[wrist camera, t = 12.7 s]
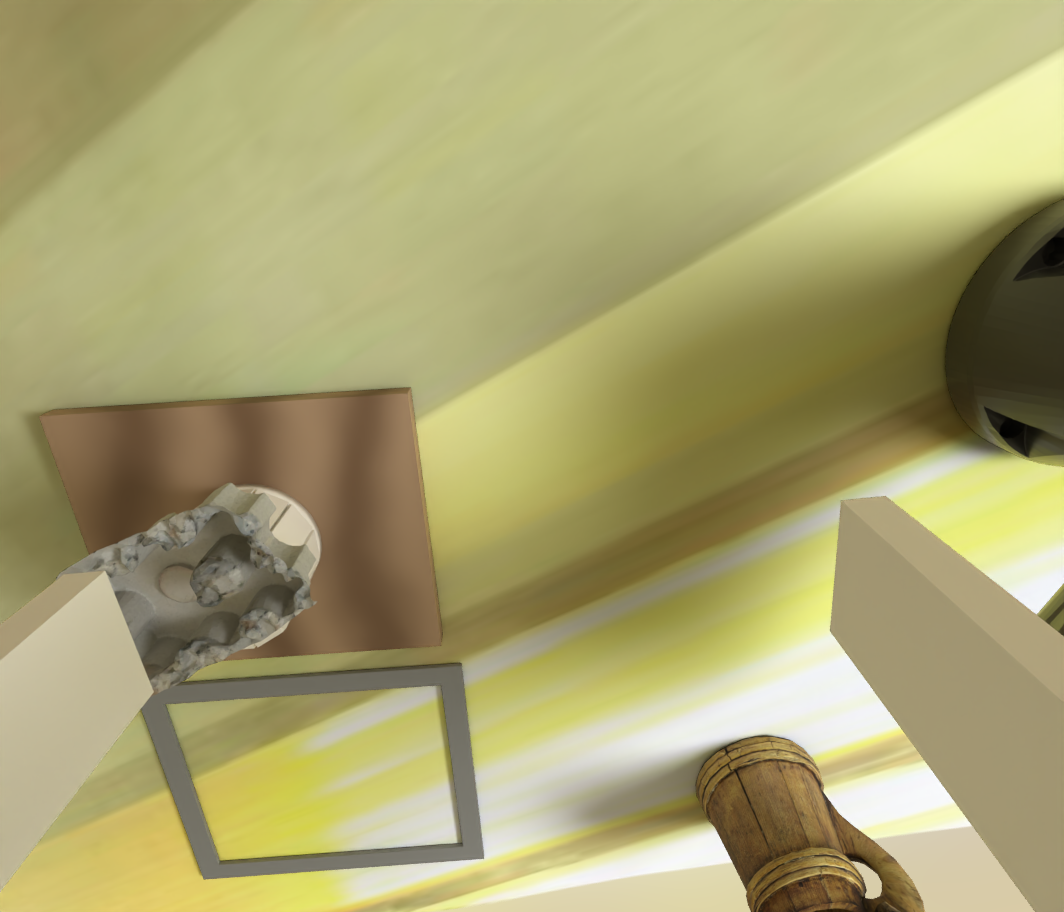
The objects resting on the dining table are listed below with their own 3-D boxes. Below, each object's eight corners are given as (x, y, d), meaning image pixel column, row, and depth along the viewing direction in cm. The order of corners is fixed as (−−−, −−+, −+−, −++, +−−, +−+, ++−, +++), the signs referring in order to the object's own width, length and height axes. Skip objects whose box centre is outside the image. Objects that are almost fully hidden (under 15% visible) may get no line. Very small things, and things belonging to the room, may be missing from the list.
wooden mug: (868, 805, 50) (1051, 1109, 33) (697, 827, 50) (793, 1141, 33) (875, 719, 46) (1084, 1009, 30) (692, 743, 47) (797, 1046, 30)
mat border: (461, 663, 43) (460, 665, 43) (484, 854, 50) (483, 858, 50) (135, 685, 43) (133, 688, 42) (205, 875, 50) (203, 879, 49)
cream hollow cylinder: (309, 479, 36) (279, 522, 31) (331, 590, 39) (307, 644, 34) (178, 488, 36) (127, 532, 31) (209, 598, 39) (168, 654, 34)
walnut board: (410, 387, 36) (407, 393, 34) (442, 633, 42) (440, 645, 41) (53, 409, 35) (38, 416, 34) (140, 654, 42) (130, 667, 41)
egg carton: (168, 655, 34) (125, 712, 30) (75, 546, 31) (15, 594, 28) (339, 583, 33) (317, 634, 29) (258, 463, 30) (221, 501, 26)
